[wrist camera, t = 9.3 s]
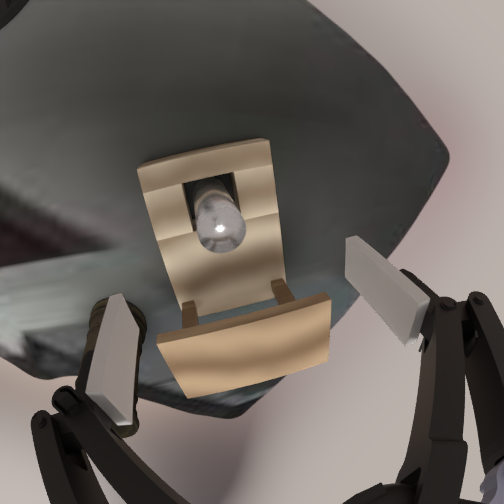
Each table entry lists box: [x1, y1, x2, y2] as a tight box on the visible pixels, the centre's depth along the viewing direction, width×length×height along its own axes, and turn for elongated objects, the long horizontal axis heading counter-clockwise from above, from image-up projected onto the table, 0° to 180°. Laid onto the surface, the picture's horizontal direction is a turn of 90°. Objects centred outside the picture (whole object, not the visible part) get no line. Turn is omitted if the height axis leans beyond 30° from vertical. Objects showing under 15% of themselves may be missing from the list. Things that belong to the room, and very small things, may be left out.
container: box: [75, 299, 147, 438], centre depth 30 cm, size 9×9×18 cm
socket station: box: [137, 138, 331, 398], centre depth 28 cm, size 20×15×16 cm
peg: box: [193, 177, 246, 253], centre depth 28 cm, size 4×4×12 cm
